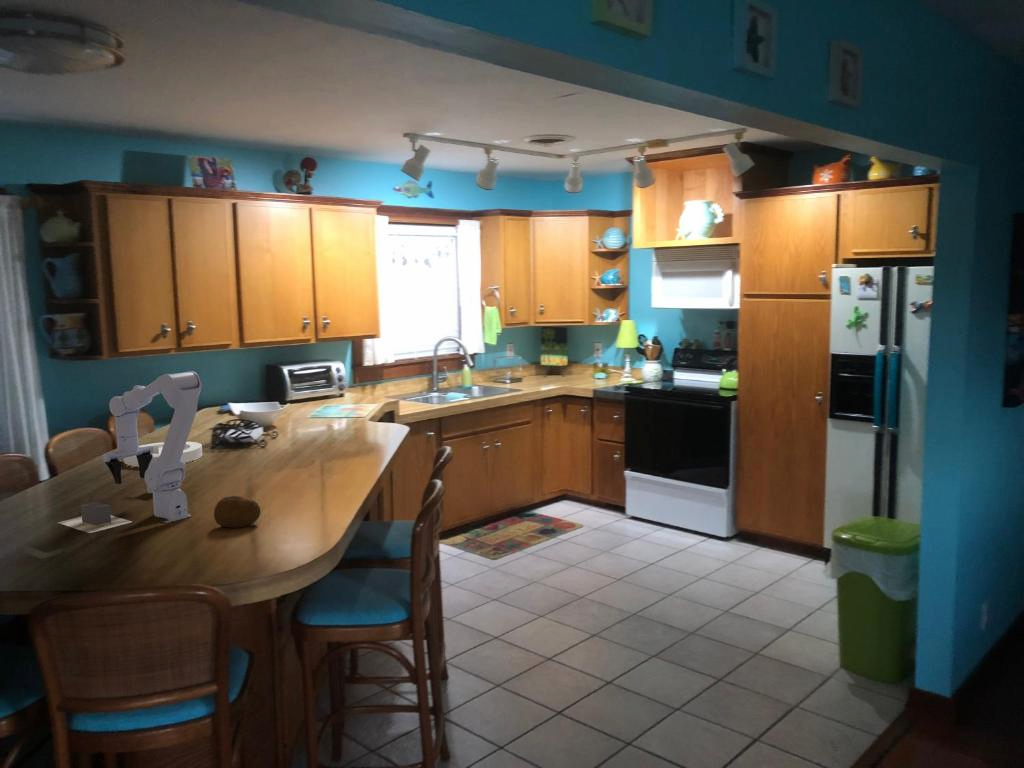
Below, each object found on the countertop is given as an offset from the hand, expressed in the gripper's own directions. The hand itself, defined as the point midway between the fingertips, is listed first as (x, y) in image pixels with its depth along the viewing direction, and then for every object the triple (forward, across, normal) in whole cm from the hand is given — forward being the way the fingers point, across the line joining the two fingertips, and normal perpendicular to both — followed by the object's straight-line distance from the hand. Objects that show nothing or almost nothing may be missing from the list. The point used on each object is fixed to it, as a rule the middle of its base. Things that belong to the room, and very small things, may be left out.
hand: (130, 480), depth 234 cm
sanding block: (+8, +14, +6) cm, 17 cm away
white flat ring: (+10, -46, -59) cm, 75 cm away
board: (+9, +14, +5) cm, 18 cm away
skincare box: (+10, -17, -15) cm, 25 cm away
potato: (+10, -7, +40) cm, 42 cm away
